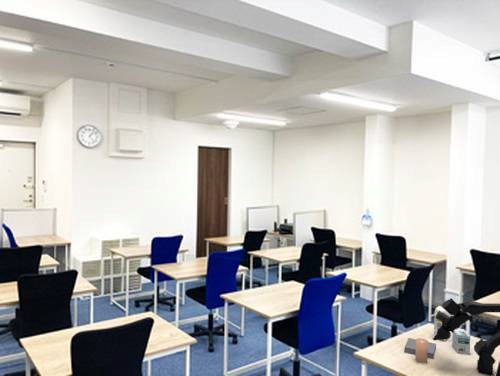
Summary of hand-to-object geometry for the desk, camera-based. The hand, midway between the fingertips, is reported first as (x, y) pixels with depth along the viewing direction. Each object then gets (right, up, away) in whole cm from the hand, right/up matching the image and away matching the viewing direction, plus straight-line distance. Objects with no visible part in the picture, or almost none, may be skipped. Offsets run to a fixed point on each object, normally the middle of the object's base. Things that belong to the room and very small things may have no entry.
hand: (435, 336), depth 209 cm
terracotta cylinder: (-7, -13, +1) cm, 15 cm away
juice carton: (+19, -13, +31) cm, 39 cm away
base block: (-2, -13, +13) cm, 19 cm away
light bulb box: (+22, -14, +15) cm, 30 cm away
